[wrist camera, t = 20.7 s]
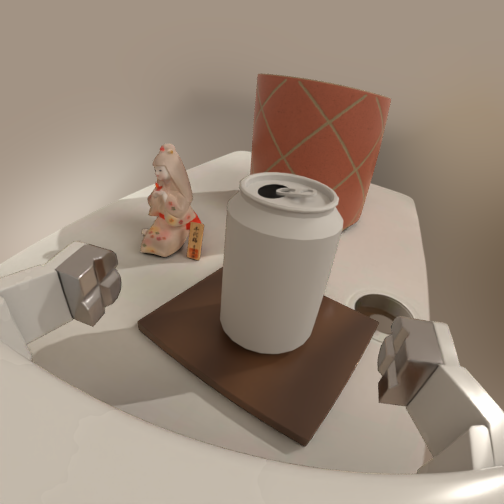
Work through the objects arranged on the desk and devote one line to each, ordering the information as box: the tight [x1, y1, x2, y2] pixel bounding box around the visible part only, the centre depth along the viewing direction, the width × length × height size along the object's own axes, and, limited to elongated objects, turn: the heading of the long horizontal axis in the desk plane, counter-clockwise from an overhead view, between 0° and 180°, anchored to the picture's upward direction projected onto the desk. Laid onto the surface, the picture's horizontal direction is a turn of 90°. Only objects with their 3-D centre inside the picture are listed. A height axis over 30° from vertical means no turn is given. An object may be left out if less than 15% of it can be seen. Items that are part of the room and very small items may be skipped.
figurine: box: [141, 144, 204, 261], centre depth 33 cm, size 9×7×12 cm
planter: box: [250, 74, 391, 231], centre depth 44 cm, size 19×19×20 cm
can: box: [220, 172, 343, 354], centre depth 22 cm, size 8×8×12 cm
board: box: [138, 267, 379, 446], centre depth 25 cm, size 16×14×1 cm
